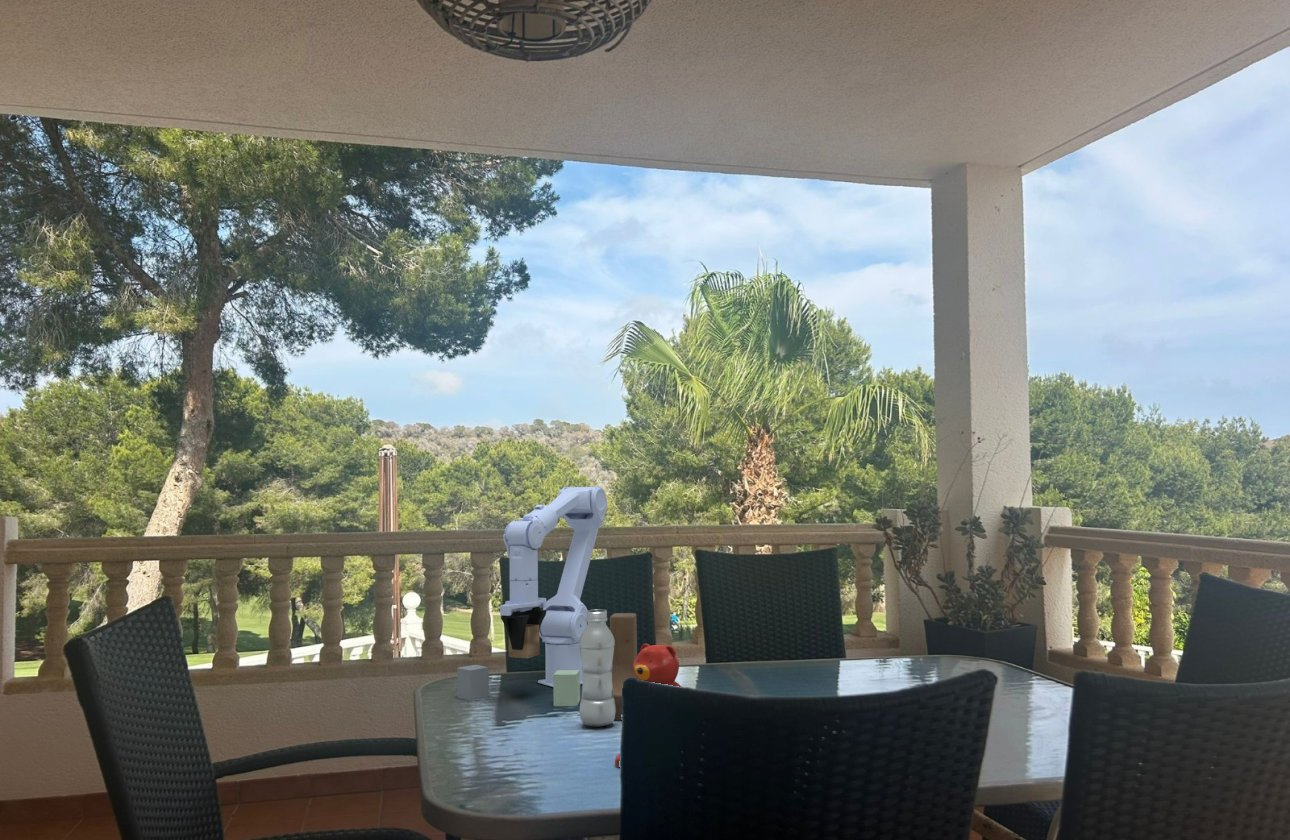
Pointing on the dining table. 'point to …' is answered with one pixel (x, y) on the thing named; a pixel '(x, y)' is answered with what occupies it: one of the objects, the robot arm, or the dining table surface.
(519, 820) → the dining table surface
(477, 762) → the dining table surface
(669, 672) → the stacking bear
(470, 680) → the grey block
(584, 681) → the plastic bottle
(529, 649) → the walnut block
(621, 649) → the wooden block
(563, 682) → the sage block
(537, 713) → the dining table surface
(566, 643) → the robot arm
